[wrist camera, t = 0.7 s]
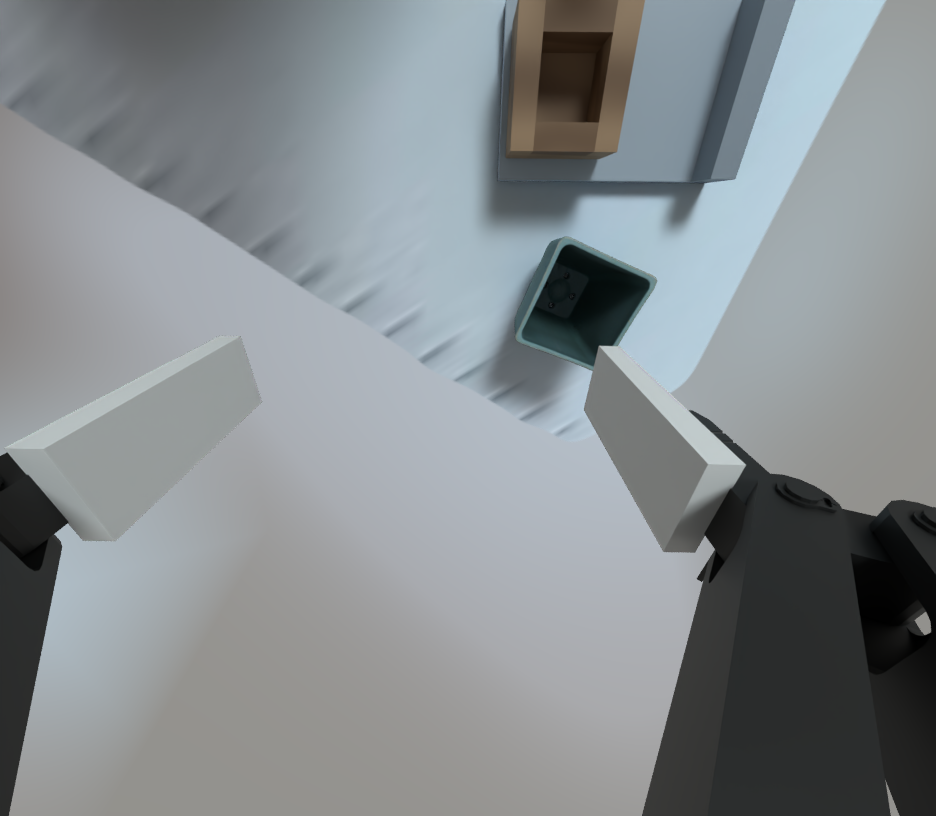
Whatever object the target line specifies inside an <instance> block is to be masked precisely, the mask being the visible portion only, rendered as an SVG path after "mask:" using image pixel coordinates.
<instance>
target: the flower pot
mask: <svg viewBox="0 0 936 816" xmlns="http://www.w3.org/2000/svg"><path fill="white" fill-rule="evenodd" d="M565 273H568V277H567V278H564V277H563V275H564V274H565ZM545 283H547V287H544V285H545ZM656 283H657V279H656V277H654V276H653V275H651V274H648V273H646V272H644V271H642V270H639V269H637V268H635V267H633V266H631V265H628V264H626V263H624V262H622V261H619V260H617V259H615V258H613V257H611V256H609V255H607V254H604V253H602V252H600V251H598V250H596V249H594V248H592V247H590V246H587V245H585V244H583V243H581V242H579V241H577V240H575V239H573V238H571V237H563V238H559V239H556V240H554V241H552V242H551V243H550V244H549V245H548V247H547V249H546V251H545V253H544V255H543V257H542V260H541V262H540V264H539V266H538V269H537V271H536V273H535V275H534V277H533V279H532V282H531V284H530V286H529V288H528V290H527V293H526V295H525V297H524V299H523V301H522V303H521V306H520V308H519V310H518V312H517V314H516V317H515V339H516V341H517V342H519V343H521V344H524V345H527V346H529V347H532V348H535V349H537V350H541V351H543V352H546V353H549V354H551V355H554V356H556V357H559V358H562V359H564V360H567V361H570V362H572V363H575V364H577V365H580V366H582V367H585V368H587V369H589V370H591V371H593V369H594V364H595V360H596V356H597V352H598V347H599V346H618V344H619V343H620V341H621V339H622V338H623V336H624V335H625V333H626V331H627V330H628V328H629V326H630V325H631V323H632V322H633V320H634V318H635V317H636V315H637V314H638V312H639V311H640V309H641V308H642V306H643V305H644V303H645V302H646V300H647V299H648V297H649V296H650V294H651V293H652V291H653V290H654V288H655V285H656ZM571 294H574V298H572V299H570V297H569V296H570V295H571ZM550 303H553V304H554V305H553V307H549V304H550Z"/></svg>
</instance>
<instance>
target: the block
mask: <svg viewBox="0 0 936 816" xmlns="http://www.w3.org/2000/svg"><path fill="white" fill-rule="evenodd" d="M644 4H645V0H518V2H517V6H516V10H515V15H514V19H513V24H512V43H511V63H510V82H509V101H508V120H507V139H506V158H524V159H601V158H604V157H606V156H609V155H611V154H613V153H616V152H617V150H618V144H619V139H620V133H621V128H622V123H623V117H624V112H625V106H626V101H627V96H628V90H629V85H630V79H631V74H632V69H633V63H634V58H635V52H636V47H637V41H638V36H639V31H640V25H641V20H642V14H643V9H644Z"/></svg>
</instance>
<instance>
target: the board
mask: <svg viewBox="0 0 936 816" xmlns="http://www.w3.org/2000/svg"><path fill="white" fill-rule="evenodd" d="M517 2H518V0H506V2H505V20H504V43H503V65H502V88H501V111H500V134H499V157H498V180H497V181H562V182H660V183H709V182H717V181H725V180H733V179H735V178H736V175H737V172H738V169H739V167H740V164H741V161H742V158H743V155H744V152H745V149H746V146H747V143H748V140H749V137H750V134H751V131H752V128H753V125H754V122H755V119H756V116H757V113H758V110H759V107H760V104H761V101H762V98H763V95H764V92H765V89H766V86H767V83H768V80H769V77H770V74H771V72H772V69H773V66H774V63H775V60H776V57H777V54H778V51H779V48H780V45H781V42H782V39H783V36H784V33H785V30H786V27H787V24H788V21H789V18H790V15H791V12H792V9H793V6H794V3H795V0H645V4H644V9H643V14H642V20H641V25H640V31H639V36H638V41H637V47H636V52H635V58H634V63H633V69H632V74H631V79H630V85H629V90H628V96H627V101H626V106H625V112H624V117H623V123H622V128H621V133H620V139H619V144H618V150H617V152H616V153H613V154H611V155H609V156H606V157H604V158H601V159H524V158H506V139H507V120H508V101H509V82H510V63H511V43H512V24H513V19H514V15H515V10H516V6H517Z"/></svg>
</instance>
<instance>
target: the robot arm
mask: <svg viewBox="0 0 936 816" xmlns="http://www.w3.org/2000/svg"><path fill="white" fill-rule="evenodd" d="M261 403H262V400H261V397H260V394H259V391H258V388H257V385H256V382H255V379H254V376H253V373H252V370H251V367H250V364H249V361H248V358H247V354H246V351H245V348H244V345H243V342H242V339H241V337H240V336H218V337H216V338H214V339H212V340H211V341H208V342H206V343H205V344H203V345H201V346H199V347H197V348H195V349H193V350H191V351H189V352H187V353H185V354H183V355H182V356H180V357H178V358H176V359H174V360H172V361H170V362H168V363H166V364H165V365H163V366H160V367H159V368H157V369H155V370H153V371H151V372H149V373H147V374H145V375H143V376H141V377H139V378H137V379H136V380H134V381H132V382H130V383H128V384H126V385H124V386H122V387H120V388H118V389H117V390H114V391H113V392H111V393H109V394H107V395H105V396H103V397H101V398H99V399H97V400H95V401H94V402H91V403H90V404H88V405H86V406H84V407H82V408H80V409H78V410H76V411H74V412H72V413H70V414H69V415H67V416H65V417H63V418H61V419H59V420H57V421H55V422H53V423H51V424H49V425H47V426H45V427H43V428H42V429H40V430H38V431H36V432H34V433H32V434H30V435H29V436H26V437H24V438H23V439H20V440H19V441H17V442H15V443H13V444H11V445H9V446H7V447H5V448H4V449H5V450H6V451H7V453H6V454H3V455H2V456H0V816H9V811H10V806H11V801H12V796H13V791H14V786H15V780H16V776H17V771H18V766H19V761H20V756H21V751H22V746H23V741H24V736H25V731H26V726H27V721H28V716H29V711H30V706H31V701H32V696H33V691H34V686H35V681H36V676H37V671H38V665H39V661H40V656H41V651H42V646H43V641H44V636H45V630H46V626H47V621H48V615H49V611H50V606H51V600H52V596H53V591H54V586H55V580H56V575H57V570H58V565H59V560H60V555H61V550H62V545H61V541H60V540H59V539H58V538H57V537H56V536H55V535H54V534H55V533H56V532H57V531H58V530H59V529H61V528H62V527H63V526H65V525H66V524H67V523H68V524H69V525H70V526H71V527H72V528H73V530H74V531H75V532H76V533H77V534H78V535H79V536H80V538H81V539H82V540H83V541H116V540H117V539H118V538H119V537H120V536H121V535H123V534H124V533H125V531H127V530H128V529H129V528H130V527H131V526H132V525H133V524H134V523H135V522H136V521H137V520H138V519H139V518H140V517H141V516H143V514H145V513H146V512H147V511H148V510H149V509H150V508H151V507H152V506H153V505H154V504H155V503H156V502H157V501H158V500H159V499H160V498H161V497H163V496H164V495H165V494H166V493H167V492H168V491H169V490H170V489H171V488H172V487H173V486H174V485H175V484H176V483H177V482H178V481H179V480H180V479H181V478H183V477H184V476H185V475H186V474H187V473H188V472H189V471H190V470H191V469H192V468H193V467H194V466H195V465H196V464H197V463H198V462H199V461H200V460H202V459H203V458H204V457H205V456H206V455H207V454H208V453H209V452H210V451H211V450H212V449H213V448H214V447H215V446H216V445H217V444H218V443H219V442H220V441H221V440H223V439H224V438H225V437H226V435H228V434H229V433H230V432H231V431H232V430H233V429H234V428H235V427H236V426H237V425H238V424H239V423H241V422H242V421H243V420H244V419H245V418H246V417H247V416H248V415H249V414H250V413H251V412H252V411H253V410H254V409H255V408H256V407H257V406H258V405H259V404H261ZM584 411H585V413H586V415H587V416H588V418H589V420H590V422H591V424H592V425H593V427H594V429H595V431H596V432H597V434H598V436H599V438H600V440H601V441H602V443H603V445H604V447H605V449H606V450H607V452H608V454H609V456H610V457H611V459H612V461H613V463H614V465H615V466H616V468H617V470H618V471H619V473H620V475H621V477H622V479H623V480H624V482H625V484H626V485H627V488H628V490H629V491H630V493H631V495H632V497H633V498H634V500H635V502H636V504H637V506H638V507H639V509H640V511H641V513H642V514H643V516H644V518H645V520H646V522H647V523H648V525H649V527H650V529H651V531H652V532H653V534H654V536H655V537H656V539H657V541H658V543H659V545H660V547H661V548H662V550H663V551H664V552H696V550H697V548H698V546H699V545H700V543H701V541H702V540H703V538H704V536H706V537H707V539H708V540H709V541H710V543H711V544H712V545H713V547H714V548H715V551H714V552H713V554H712V555H711V557H710V559H709V560H708V562H707V563H706V565H705V567H704V568H703V570H702V571H701V573H700V574H699V576H698V578H697V579H698V580H700V581H701V582H702V581H703V584H702V588H701V592H700V596H699V600H698V603H697V607H696V611H695V615H694V619H693V622H692V626H691V630H690V634H689V638H688V641H687V645H686V649H685V653H684V657H683V661H682V664H681V668H680V672H679V676H678V680H677V684H676V687H675V692H674V695H673V699H672V703H671V707H670V710H669V715H668V718H667V722H666V726H665V730H664V733H663V737H662V741H661V745H660V749H659V753H658V756H657V760H656V764H655V768H654V772H653V775H652V779H651V783H650V787H649V791H648V795H647V798H646V802H645V806H644V810H643V814H642V816H891V815H890V809H889V802H888V795H887V789H886V782H887V785H888V787H889V790H890V792H891V795H892V797H893V800H894V803H895V805H896V808H897V810H898V813H899V815H900V816H936V508H935V507H930V506H926V505H923V504H920V503H916V502H910V501H905V500H897V501H891V502H890V503H889V504H888V505H887V506H886V507H885V508H884V510H883V511H882V512H881V513H880V514H879V515H878V516H877V517H876V516H871V515H867V514H862V513H858V512H854V511H849V510H845V509H842V508H841V506H840V505H839V504H838V503H837V502H836V501H835V500H834V499H833V498H832V497H831V496H830V495H828V494H827V493H825V492H823V491H822V490H820V489H819V488H817V487H815V486H813V485H811V484H809V483H807V482H804V481H802V480H800V479H796V478H792V477H789V476H785V475H779V474H770V473H769V472H767V471H766V470H765V469H764V468H763V467H762V466H761V465H759V463H757V462H756V461H755V460H754V459H753V458H751V456H749V455H748V454H747V453H746V452H745V451H744V450H743V449H742V448H741V447H739V446H738V445H737V444H736V443H733V440H731V439H730V438H729V437H728V436H727V435H726V434H723V433H722V430H720V429H719V428H718V427H717V426H716V425H715V424H714V423H713V422H711V421H710V420H709V419H707V418H705V417H703V416H701V415H699V414H698V413H696V412H694V411H690V410H689V411H688V410H687V409H686V408H685V407H684V406H683V405H682V404H681V403H679V402H678V401H677V400H676V399H675V398H674V397H673V396H672V395H671V394H670V393H669V392H668V391H667V390H666V389H665V388H663V387H662V386H661V385H660V384H659V383H658V382H657V381H656V380H655V379H654V378H653V377H652V376H651V375H650V374H649V373H647V372H646V371H645V370H644V369H643V368H642V367H641V366H640V365H639V364H638V363H637V362H636V361H635V360H634V359H633V358H631V357H630V356H629V355H628V354H627V353H626V352H625V351H624V350H623V349H622V348H621V347H620V346H599V347H598V352H597V356H596V360H595V364H594V369H593V373H592V377H591V381H590V385H589V390H588V394H587V398H586V402H585V406H584ZM924 612H927V614H928V616H929V619H930V621H931V633H929V634H927V635H924V634H923V633H922V632H921V630H920V629H919V627H918V626H917V624H916V622H915V621H914V620H915V619H916V618H918V617H919V616H920V615H922V614H923V613H924ZM885 779H886V782H885Z"/></svg>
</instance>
